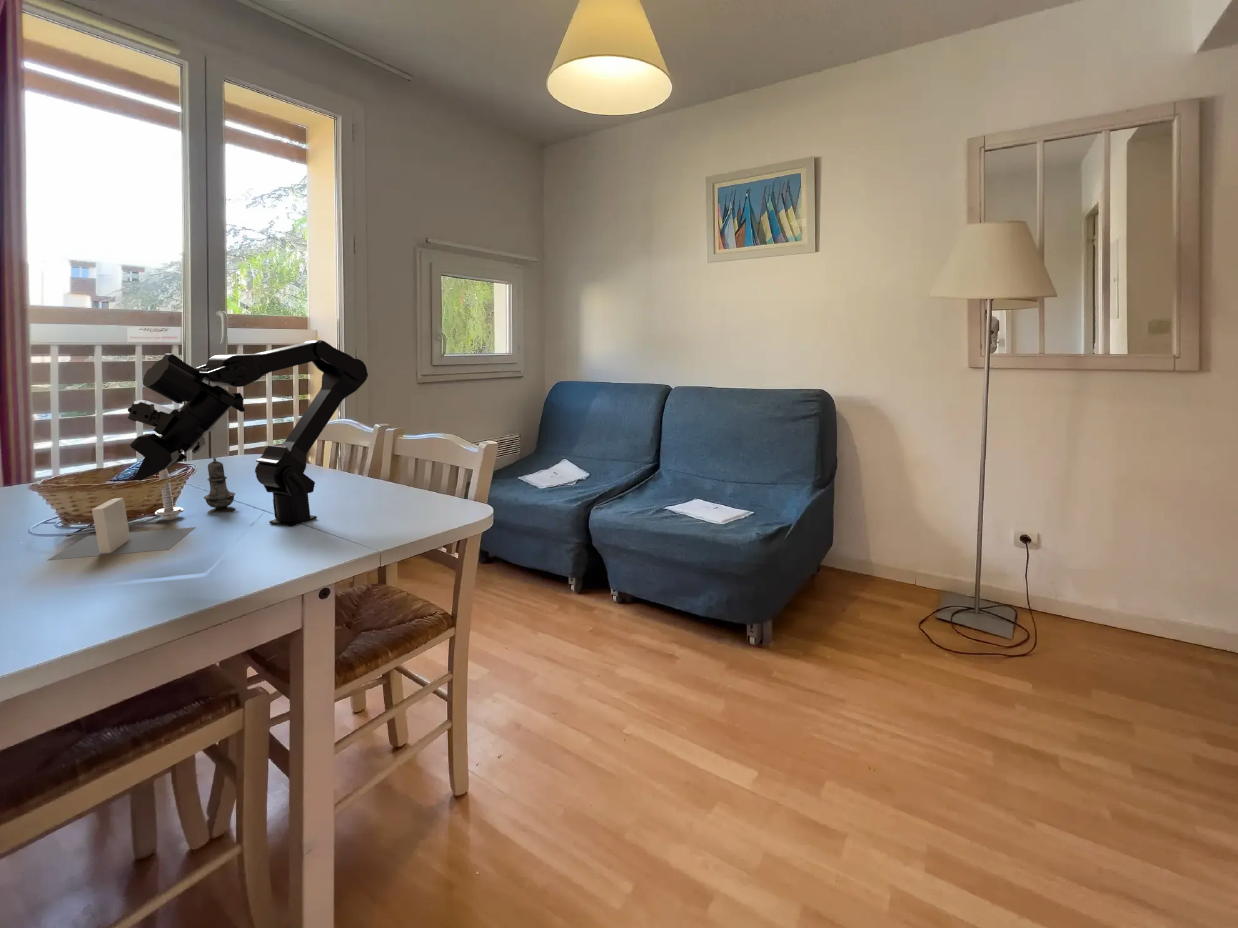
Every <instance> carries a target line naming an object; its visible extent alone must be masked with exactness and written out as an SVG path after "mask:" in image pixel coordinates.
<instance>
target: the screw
mask: <svg viewBox="0 0 1238 928" xmlns="http://www.w3.org/2000/svg"><path fill="white" fill-rule="evenodd" d="M158 474H159V475H158V477H159V478H158V479H159V480H160V479H166V478H168V477H169V478H170V475H169V472H168V468H166V469H164V470H162V471H160V472H158ZM165 484H166V485H165V486H164V488H163V489H162V490H161V492H160V493H161V496H162V498H161V499H162V505H163V506H162V507H163V508H159V509H158V510H156V511H155V512H154V514H155V516H158V517H159V516H160V518H161V519H162V520H163V521H172V520H176V519H177V518H179V515H180V514H181V513H182V512H184V508H183V507H181V506H174V503H173V502H174V500H173V499H174V497H173V495H172V493H173V492H171V491H172V489H171V488H172V484H171V481H170V482H168V481H167V482H166V483H165Z"/></svg>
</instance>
